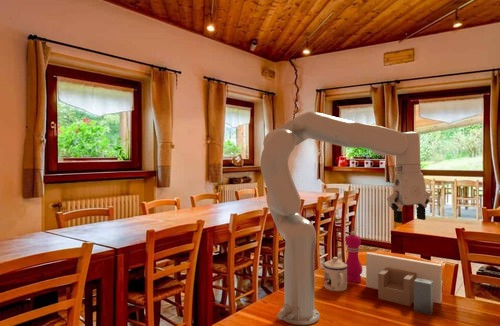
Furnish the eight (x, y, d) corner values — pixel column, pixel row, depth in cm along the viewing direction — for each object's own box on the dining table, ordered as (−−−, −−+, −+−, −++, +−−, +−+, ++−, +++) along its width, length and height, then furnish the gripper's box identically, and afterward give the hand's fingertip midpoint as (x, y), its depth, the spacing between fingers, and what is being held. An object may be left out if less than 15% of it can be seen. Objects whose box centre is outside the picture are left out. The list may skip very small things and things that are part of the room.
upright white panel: (434, 312, 118) (434, 272, 118) (357, 293, 135) (357, 258, 134) (441, 301, 127) (441, 264, 126) (368, 285, 143) (368, 252, 143)
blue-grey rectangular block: (430, 315, 116) (430, 284, 116) (413, 311, 119) (413, 280, 119) (433, 311, 119) (433, 281, 119) (416, 307, 122) (416, 277, 122)
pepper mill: (363, 283, 145) (363, 233, 144) (344, 282, 146) (344, 232, 145) (361, 277, 152) (361, 229, 151) (343, 276, 153) (343, 229, 153)
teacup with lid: (320, 283, 145) (320, 254, 144) (342, 282, 146) (342, 253, 145) (330, 295, 133) (330, 263, 133) (354, 294, 134) (354, 262, 134)
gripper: (395, 171, 114) (397, 225, 115) (437, 168, 120) (438, 219, 121) (379, 170, 121) (381, 222, 122) (419, 167, 127) (421, 216, 128)
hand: (409, 220), depth 121 cm, fingers open, 9 cm apart
